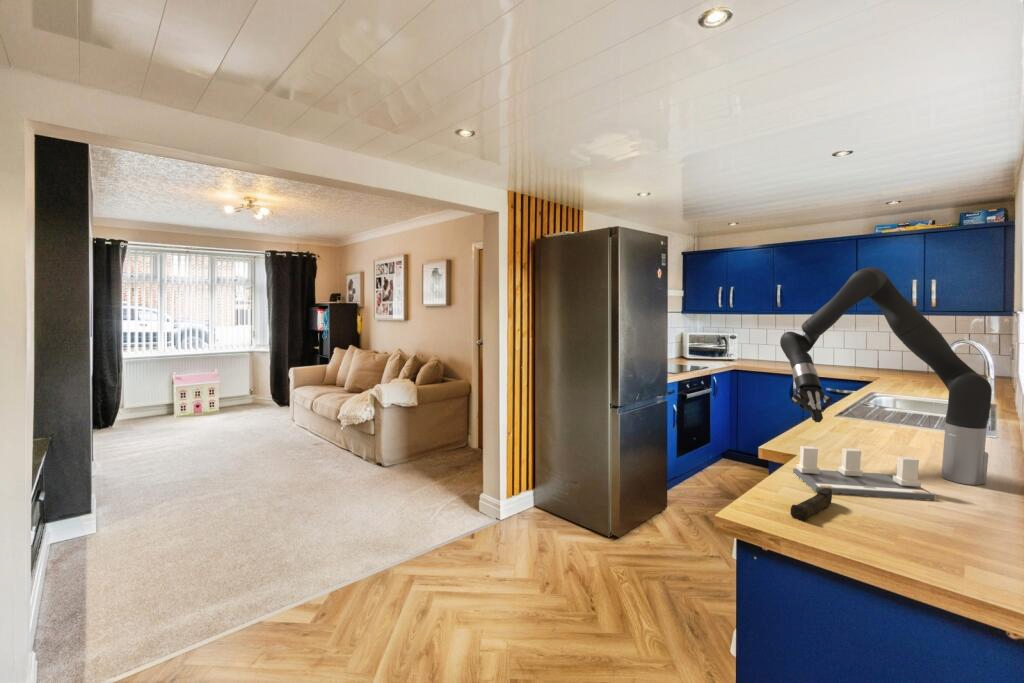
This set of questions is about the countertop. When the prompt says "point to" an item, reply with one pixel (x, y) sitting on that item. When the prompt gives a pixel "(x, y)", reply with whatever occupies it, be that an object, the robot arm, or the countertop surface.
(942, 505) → the countertop surface
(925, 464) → the countertop surface
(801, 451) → the far tab
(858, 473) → the middle tab
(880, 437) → the countertop surface
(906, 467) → the near tab
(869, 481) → the switch bank
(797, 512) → the hand tool
